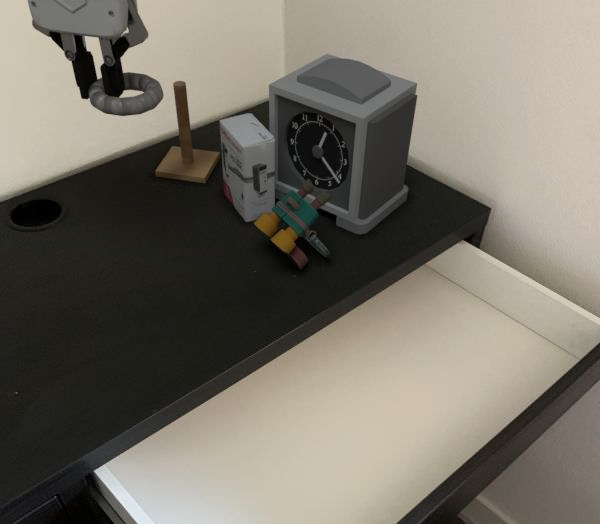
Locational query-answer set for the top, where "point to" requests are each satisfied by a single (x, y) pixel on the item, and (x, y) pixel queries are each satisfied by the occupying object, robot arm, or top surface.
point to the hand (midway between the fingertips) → (102, 94)
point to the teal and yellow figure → (294, 223)
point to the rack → (186, 148)
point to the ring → (128, 104)
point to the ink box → (248, 165)
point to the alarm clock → (343, 137)
